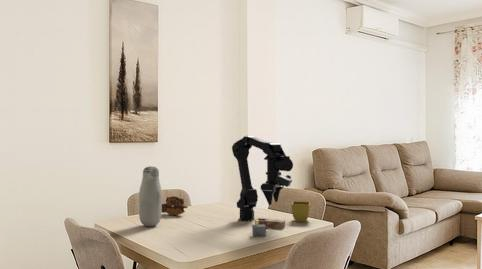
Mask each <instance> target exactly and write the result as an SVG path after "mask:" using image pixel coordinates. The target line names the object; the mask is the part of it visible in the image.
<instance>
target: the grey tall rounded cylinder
mask: <svg viewBox="0 0 482 269" xmlns="http://www.w3.org/2000/svg"><path fill="white" fill-rule="evenodd" d="M162 199H163V191H162V186H161V182H160V171H159V169H158V168H157V167H156V166H151V165H149V166H146V167H145V168H144V169H143V171H142V180H141V184H140V186H139V191H138V215H139V220H140V221H139V222H140V223H141V225H143V226H144V227H156V226H157V225H159V223H160V222H161V219H162V204H163V203H162V202H163V200H162Z"/></svg>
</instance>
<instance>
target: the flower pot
mask: <svg viewBox="0 0 482 269" xmlns="http://www.w3.org/2000/svg"><path fill="white" fill-rule="evenodd" d="M310 205H311V202H310V201H299V200H298V201H297V200H296V201H292V203H291V211H292V212H291V213H292V217H293V219H294V221H295V222H296V223H297V222H299V223H300V222H302V223H303V222H304V223H305V222H307V220H308V218H309V215H310V207H311V206H310Z"/></svg>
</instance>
